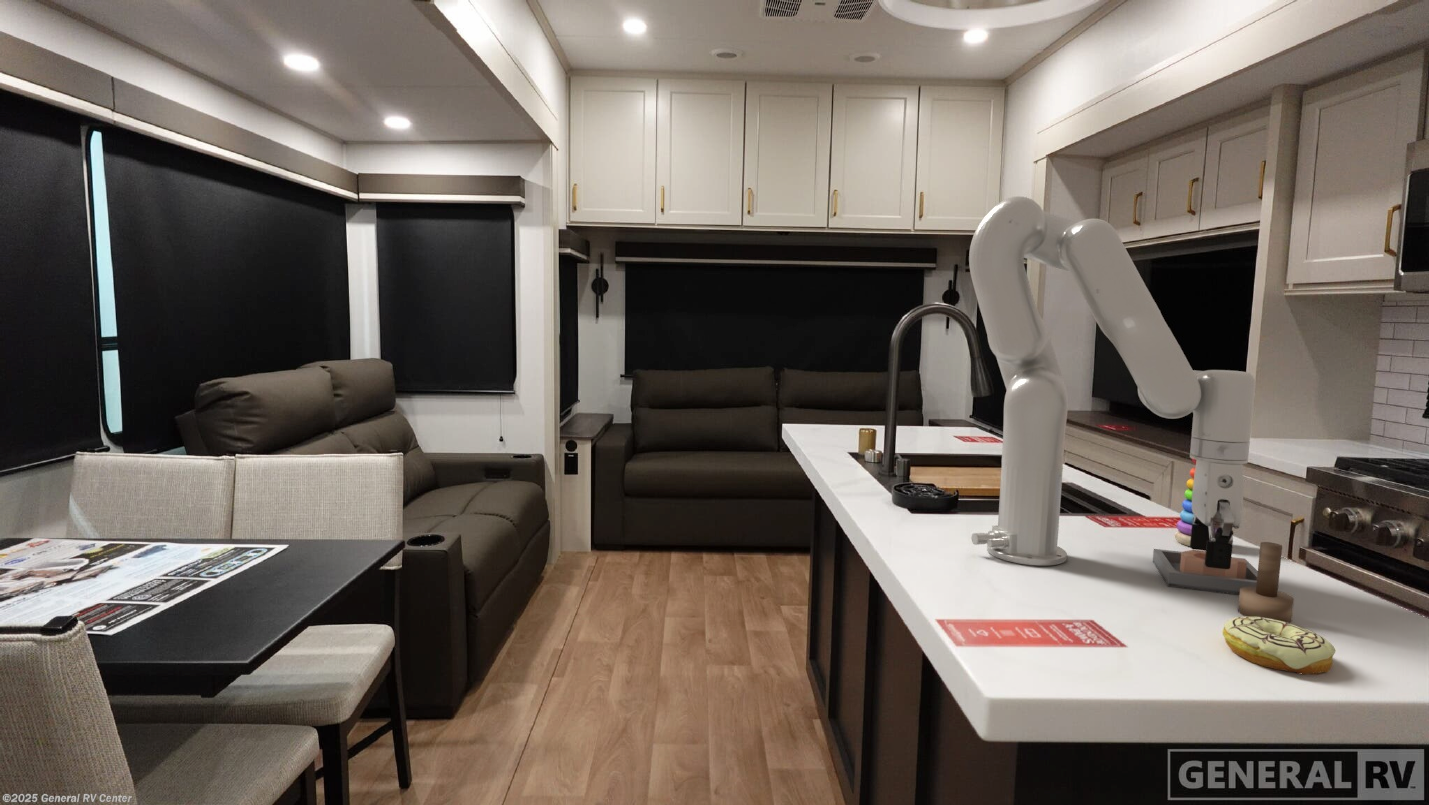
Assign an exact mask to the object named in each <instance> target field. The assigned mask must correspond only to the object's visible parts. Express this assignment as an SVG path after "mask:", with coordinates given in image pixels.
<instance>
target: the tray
mask: <svg viewBox="0 0 1429 805" xmlns="http://www.w3.org/2000/svg"><path fill="white" fill-rule="evenodd" d="M1181 552H1182V551H1180V550H1179V551H1176V550H1167V549H1160V548H1159V549H1158V548H1153V551H1152V563H1153V565H1154V566H1155V568H1156V569H1157V571H1158V572H1159V575H1160V576H1161V577H1162V579H1163V580H1164V582H1165V584H1166V585H1167V587H1171V588H1179V589H1187V590H1188V589H1189V590H1194V591H1202V592H1211V593H1219V594H1220V593H1221V594H1228V595H1234V596H1239V594H1240V588H1242V587H1249V586H1252V587H1256V584H1257V574H1258V569H1256V567H1254V566H1253V564H1251V562H1249V561H1248V560H1247V558H1241V557H1233V556H1232V557H1233V558H1235V559H1244V560H1245V561H1246V562H1247V567H1246V578H1245V579H1238V578H1230V577H1221V576H1212V575H1204V574H1195V573H1186V572H1181V571H1180V562H1181Z"/></svg>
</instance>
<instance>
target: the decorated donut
mask: <svg viewBox="0 0 1429 805" xmlns="http://www.w3.org/2000/svg"><path fill="white" fill-rule="evenodd" d="M1222 636H1223V637H1224V641H1225V643H1226V645H1227V646H1228V648H1230V650H1231V651H1232V653H1234V654H1236V655H1237V656H1239V657H1242V658H1243V659H1245V660H1246V661H1249V662H1250V663H1251V664H1257V665H1259V666H1261V667H1264V666H1265V667H1264V668H1272V669H1274V670H1277V671H1278V670H1283V671H1285V672H1289V671H1292V672H1291V673H1296V672H1297V673H1296V674H1299V673H1302V674H1301V675H1307V674H1308V675H1309V674H1310V675H1312V674H1316V675H1317V674H1320V673H1327V672H1329V671H1330V670H1331V667H1332V665H1333V662H1334V661H1333V657H1334V655H1335V653H1336V648H1335V647H1334V645H1333V644H1332V643H1331V642H1329V641H1328V640H1327V639H1326V638H1324V637H1322V636H1321V635H1318V634H1317V633H1316V632H1314V631H1313V630H1310V629H1307V628H1304V627H1301V626H1298V625H1295V624H1293V623H1291V622H1290V623H1287V622H1284V621H1280V620H1275V619H1270V618H1263V617H1255V616H1252V617H1251V616H1244V615H1243V616H1236V617H1233V618H1231V619H1229V620H1227V621H1226V622H1224V626H1223V630H1222Z"/></svg>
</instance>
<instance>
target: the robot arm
mask: <svg viewBox="0 0 1429 805" xmlns="http://www.w3.org/2000/svg"><path fill="white" fill-rule="evenodd" d="M968 255H969V256H968V262H969V264H968V265H969V271H970V272H969V273H970V277H971V280H972V281H971V282H972V285H973V289H974V292H975V296H976V299H977V304H978V308H979V311H980V313H981V317H982V320H983V324H984V327H985V332H986V334H987V342H988V345H989V349H990V350H991V352H992V354H993V355H994V356H995V358H996V360H997V364H998V367H999V370H1000V373H1001V377H1002V380H1003V383H1004V386H1005V390H1006V392H1005V395H1004V402H1003V426H1002V428H1003V430H1002V431H1003V432H1002V449H1001V451H1002V453H1001V471H1000V485H999V486H1000V489H999V504H998V506H999V507H998V520H997V525H991V530H989V531H988V532H987V533H985V532H974V533H972V535H971V537H970V538H971V543H972V544H973V545H975V546H978V545H985V544H986V551H987V552H988V553H989V554H990V555H992V556H993V557H994V558H998V559H1000V560H1003V561H1007V562H1011V563H1015V564H1021V565H1027V566H1028V565H1029V566H1038V567H1040V566H1043V567H1044V566H1057V565H1060V564H1063V563H1065V562H1066V561H1067V557H1068V556H1067V555H1068V553H1067V551H1066V550H1065V549H1063V548H1062V547H1061V546H1058V540H1059V527H1060V525H1059V524H1060V516H1061V515H1060V513H1061V500H1062V499H1061V498H1062V485H1063V469H1064V467H1063V465H1064V455H1065V454H1064V451H1065V437H1066V427H1067V419H1068V409H1069V395H1068V390H1067V386H1066V384H1065V381H1064V377H1063V374H1062V372H1061V368H1060V365H1059V361H1058V359H1057V358H1058V357H1057V356H1056V352H1055V349H1054V346H1053V342H1052V339H1051V337H1050V334H1049V330H1048V327H1047V325H1046V322H1045V321H1044V319H1043V317H1041V315H1040V313H1039V310H1038V307H1037V305H1036V301H1035V298H1034V295H1033V293H1032V292H1033V291H1032V289H1031V285H1030V281H1029V278H1028V274H1027V271H1026V266H1025V264H1024V261H1025V259H1027V260H1030V261H1033V262H1036V263H1040V264H1043V265H1046V266H1048V267H1049V266H1050V267H1052V268H1055V269H1059V270H1063V271H1066V272H1069V273H1070V274H1071V276H1072V278H1073V280H1074V282H1075V284H1076V285H1077V287H1078V290H1079V291H1080V293H1081V295H1082V297H1083V299H1084V300H1085V303H1086V305H1087V306H1088V309H1089V310H1090V312H1091V314H1092V316H1093V318H1094V320H1095V321H1096V323H1097V325H1098V327H1099V329H1100V331H1101V332H1102V333H1103V334H1104V335H1105V337H1106V338H1108V340H1109V341H1110V342H1111V343H1112V344H1113V346H1114V347H1115V349H1116V351H1117V352H1118V354H1119V355H1120V357H1121V358H1122V361H1123V362H1124V363H1125V366H1126V368H1127V369H1128V371H1129V373H1130V375H1131V377H1132V378H1133V380H1134V383H1135V384H1136V386H1137V395H1138V397H1139V400H1140V402H1142V404H1143V405H1144V406H1145V407H1146V408H1147V409H1148V410H1150V411H1151V412H1152V413H1153V414H1155V415H1157V416H1159V417H1161V418H1165V419H1172V420H1173V419H1180V418H1183V417H1185V416H1186V417H1187V416H1188V415H1189V414H1191V413H1192V414H1193V417H1192V425H1191V426H1192V427H1191V428H1192V429H1191V440H1190V450H1189V458H1190V459H1191V460H1192V459H1195V460H1196V465H1195V466H1194V468H1195V474H1194V482H1193V491H1192V512H1193V514H1194V516H1193V524H1192V529H1191V540H1190V546H1189V547H1190V549H1191V550H1199V551H1206V555H1205V565H1206V566H1207V567H1210V568H1219V569H1230V566H1231V557H1233V556H1232V554H1233V545H1234V543H1233V542H1234V537H1233V536H1234V530H1233V528H1234V529H1237V530H1238V529H1240V528H1242V525H1243V510H1244V508H1243V507H1244V486H1245V484H1244V483H1245V482H1244V466H1243V465H1245V464H1248V463H1249V453H1250V443H1251V441H1250V440H1251V432H1252V421H1253V413H1254V412H1253V411H1254V403H1255V402H1254V401H1255V392H1256V379H1255V377H1254V375H1253V374H1251V373H1249V372H1247V371H1242V370H1241V371H1239V370H1230V369H1227V370H1226V369H1207V370H1195V369H1194V370H1193V368H1192V366H1191V365H1190V362H1189V361H1188V359H1187V357H1186V355H1185V354H1184V351H1183V350H1182V347H1181V345H1180V344H1179V343H1178V341H1177V339H1176V337H1175V336H1174V334H1173V332H1172V330H1171V328H1170V327H1169V326H1168V324H1167V322H1166V321H1165V319H1164V317H1163V315H1162V313H1161V310H1160V309H1159V307H1158V305H1157V303H1156V302H1155V299H1154V298H1153V296H1152V294H1151V292H1150V291H1149V289H1148V287H1147V286H1146V283H1145V282H1144V280H1143V278H1142V277H1141V275H1140V273H1139V271H1138V269H1137V267H1136V265H1135V264H1134V261H1133V259H1132V258H1131V256H1130V254H1129V253H1128V251H1127V249H1126V246H1125V245H1124V243H1123V241H1122V240H1121V237H1120V236H1119V234H1118V232H1117V231H1116V229H1115V228H1114V226H1112V224H1110V223H1109V222H1108V221H1106V220H1104V219H1101V218H1087V219H1083V220H1075V219H1071V218H1068V217H1064V216H1060V215H1057V214H1054V213H1051V212H1047V211H1044V210H1043V209H1042V207H1041V206H1040V204H1038V203H1037V201H1035V200H1033V199H1032V198H1029V197H1027V196H1026V197H1025V196H1020V195H1018V196H1011V197H1008V198H1006V199H1004V200H1001V201H1000V202H999V203H997V204H996V205H995V206H993V207H992V208H991V209H990V210H989V211H988V212H987V213H986V214H985V216H983V218H982V220H981V221H980V222H979V224H978V226H976V229H975V232H974V234H973V236H972V239H971V243H970V246H969V254H968ZM1194 524H1197V525H1194ZM1215 528H1218V529H1217V531H1216V533H1215Z"/></svg>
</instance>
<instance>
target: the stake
mask: <svg viewBox="0 0 1429 805" xmlns="http://www.w3.org/2000/svg"><path fill="white" fill-rule="evenodd" d="M1282 553H1283V545H1282V544H1279V543H1276V542H1270V541H1261V542H1260V546H1259V555H1258V564H1257V571H1258V574H1257V584H1256V587H1252V586H1249V587H1242V588H1240V594H1239V595H1238V607H1237V612H1238V613H1240V614H1241V615H1242V616H1243V617H1244V616H1251V617H1252V616H1255V617H1263V618H1270V619H1275V620H1280V621H1284V622H1287V623H1290V624H1291V622H1292V620H1293V619H1292V618H1293V609H1294V600H1295V598H1294V597H1293V596H1292V595H1290V594H1288V593H1285V592H1283V591H1280V590H1279V581H1280V572H1281V563H1282Z"/></svg>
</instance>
